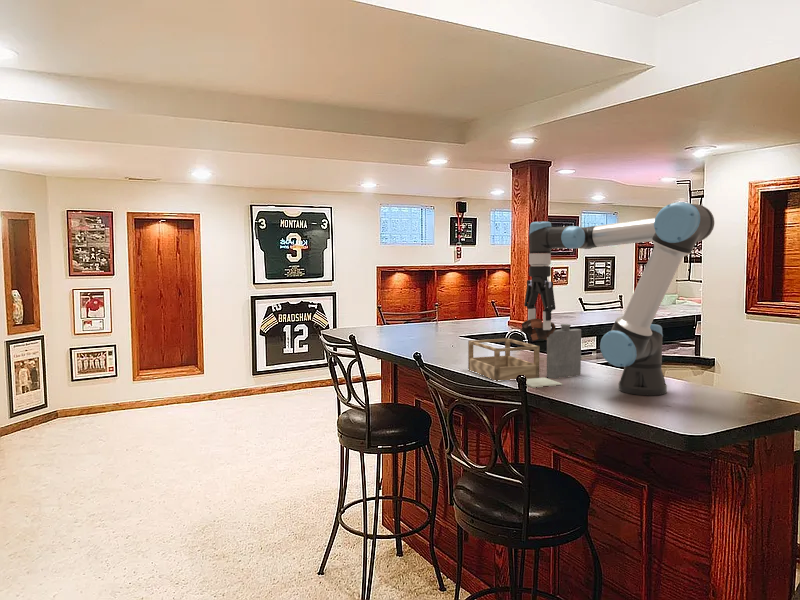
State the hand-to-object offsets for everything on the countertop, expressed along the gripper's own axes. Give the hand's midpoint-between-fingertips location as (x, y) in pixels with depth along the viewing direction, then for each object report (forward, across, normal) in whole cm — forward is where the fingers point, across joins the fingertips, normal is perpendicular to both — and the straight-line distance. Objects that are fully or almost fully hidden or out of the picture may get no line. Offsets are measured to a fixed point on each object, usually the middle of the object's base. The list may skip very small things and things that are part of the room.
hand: (539, 328), depth 221 cm
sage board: (+20, 0, 0) cm, 20 cm away
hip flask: (+20, +8, -16) cm, 27 cm away
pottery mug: (+4, -1, +1) cm, 4 cm away
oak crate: (+20, +20, +4) cm, 28 cm away
